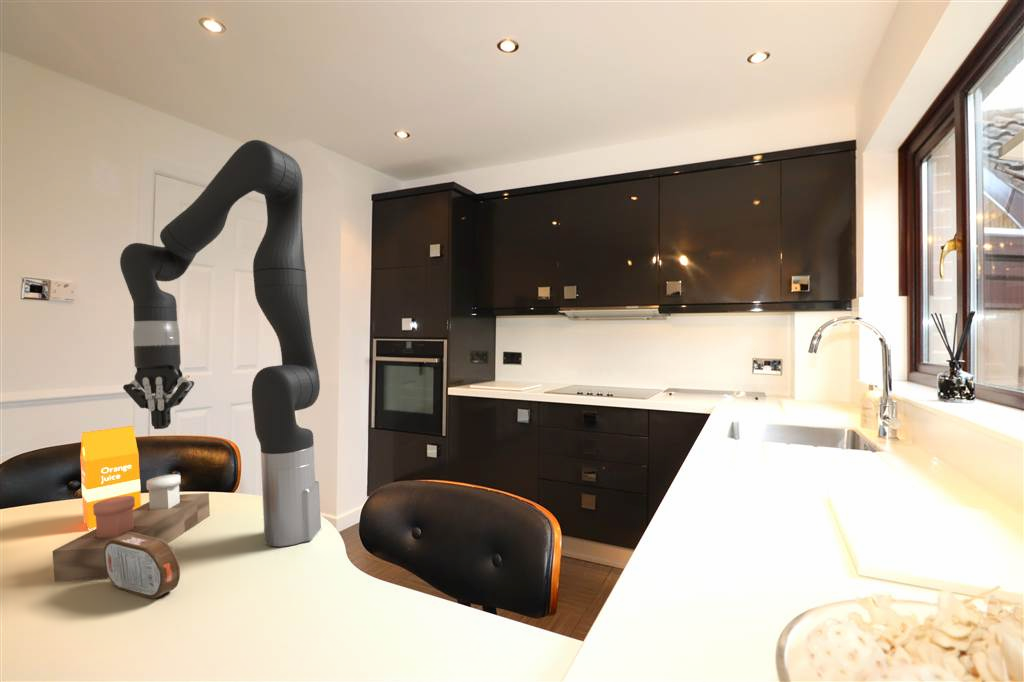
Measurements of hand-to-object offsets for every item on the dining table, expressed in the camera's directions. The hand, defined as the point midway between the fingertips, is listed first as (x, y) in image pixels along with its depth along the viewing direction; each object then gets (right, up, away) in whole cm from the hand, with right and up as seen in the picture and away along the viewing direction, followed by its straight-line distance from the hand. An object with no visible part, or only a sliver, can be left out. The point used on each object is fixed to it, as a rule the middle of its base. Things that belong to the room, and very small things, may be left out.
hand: (161, 428), depth 96 cm
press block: (+1, -21, -6) cm, 22 cm away
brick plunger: (+1, -17, -13) cm, 21 cm away
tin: (+14, -21, -23) cm, 35 cm away
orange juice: (-16, -22, +7) cm, 28 cm away
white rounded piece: (+1, -17, 0) cm, 17 cm away
